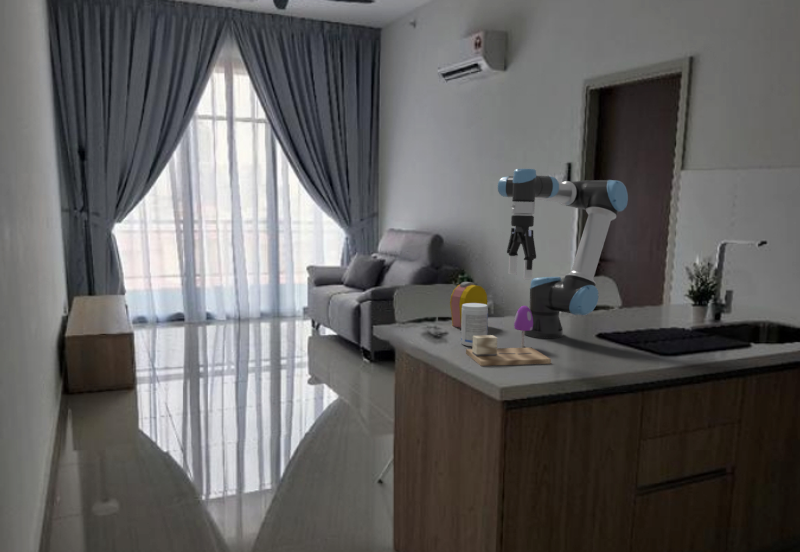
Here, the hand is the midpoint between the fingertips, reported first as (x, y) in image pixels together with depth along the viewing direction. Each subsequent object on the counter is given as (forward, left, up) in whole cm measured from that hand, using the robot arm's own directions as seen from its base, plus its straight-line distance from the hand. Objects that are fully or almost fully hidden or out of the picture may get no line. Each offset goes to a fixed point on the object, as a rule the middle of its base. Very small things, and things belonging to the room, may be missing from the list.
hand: (519, 276), depth 217 cm
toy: (-6, -9, -27) cm, 29 cm away
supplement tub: (+11, -14, -27) cm, 32 cm away
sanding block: (+14, +7, -25) cm, 30 cm away
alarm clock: (+3, -47, -27) cm, 54 cm away
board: (+6, +7, -27) cm, 28 cm away
